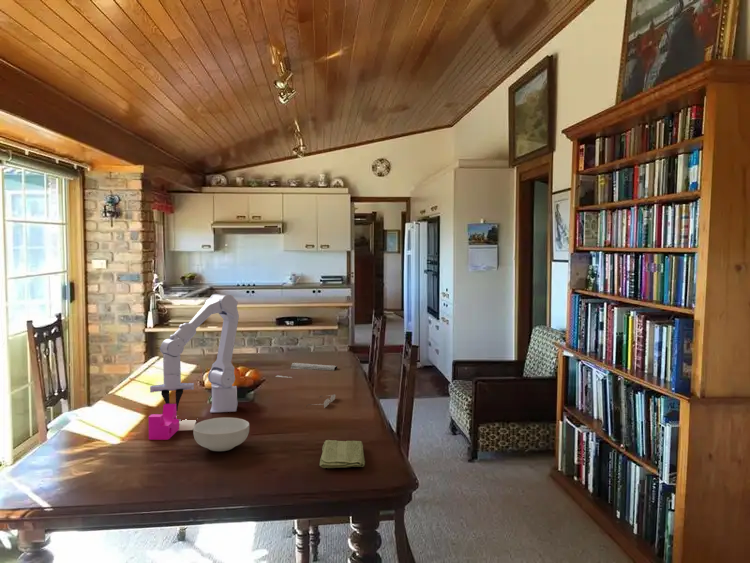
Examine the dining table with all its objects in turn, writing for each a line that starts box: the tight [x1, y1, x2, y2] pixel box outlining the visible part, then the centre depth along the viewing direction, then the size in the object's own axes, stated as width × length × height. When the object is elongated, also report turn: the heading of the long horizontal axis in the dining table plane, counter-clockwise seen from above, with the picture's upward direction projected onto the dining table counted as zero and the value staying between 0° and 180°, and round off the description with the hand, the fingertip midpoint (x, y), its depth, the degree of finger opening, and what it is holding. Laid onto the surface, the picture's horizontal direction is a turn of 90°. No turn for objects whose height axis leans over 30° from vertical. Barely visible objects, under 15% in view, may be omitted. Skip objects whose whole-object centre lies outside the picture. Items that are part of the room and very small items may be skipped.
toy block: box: [148, 403, 179, 441], centre depth 189 cm, size 15×6×8 cm, turn 0°
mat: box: [275, 362, 338, 379], centre depth 270 cm, size 23×24×5 cm
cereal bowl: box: [192, 416, 250, 452], centre depth 175 cm, size 17×17×7 cm
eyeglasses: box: [305, 393, 336, 409], centre depth 222 cm, size 14×8×4 cm, turn 165°
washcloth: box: [319, 439, 366, 469], centre depth 167 cm, size 13×18×3 cm
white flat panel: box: [177, 419, 197, 432], centre depth 200 cm, size 14×20×1 cm
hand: (172, 410), depth 200 cm, fingers closed
